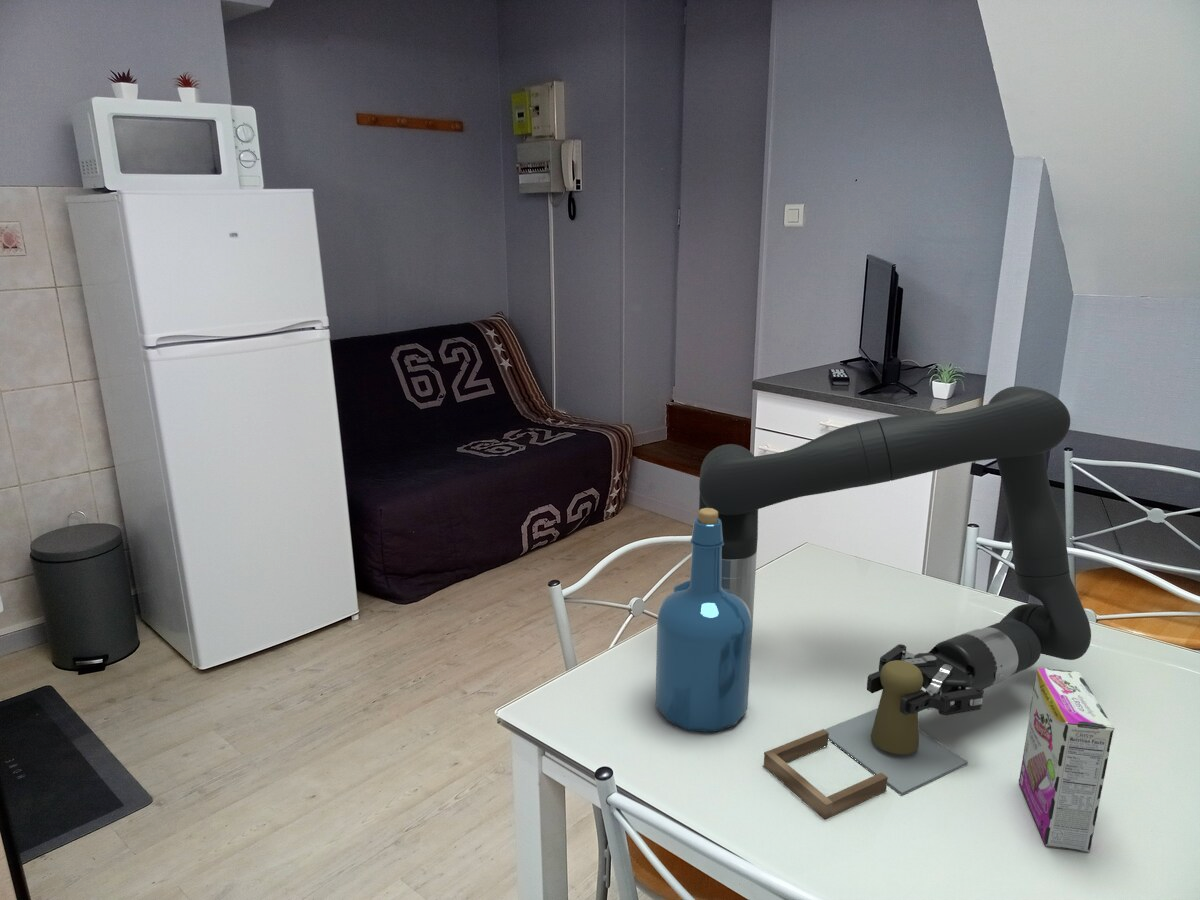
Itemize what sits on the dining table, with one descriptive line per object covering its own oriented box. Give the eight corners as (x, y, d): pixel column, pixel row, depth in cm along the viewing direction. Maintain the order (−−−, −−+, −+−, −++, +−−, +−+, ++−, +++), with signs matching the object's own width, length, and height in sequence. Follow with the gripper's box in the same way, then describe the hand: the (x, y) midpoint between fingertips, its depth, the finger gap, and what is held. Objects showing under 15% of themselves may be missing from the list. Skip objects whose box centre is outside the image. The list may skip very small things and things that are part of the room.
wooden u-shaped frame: (763, 765, 105) (764, 752, 105) (822, 741, 110) (823, 728, 109) (824, 819, 96) (826, 805, 96) (886, 791, 101) (887, 777, 100)
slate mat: (819, 733, 112) (820, 731, 112) (883, 708, 117) (883, 705, 117) (901, 795, 100) (901, 792, 100) (967, 764, 106) (968, 761, 105)
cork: (879, 720, 113) (886, 649, 109) (924, 736, 109) (933, 663, 106) (864, 743, 108) (871, 669, 105) (911, 760, 104) (920, 684, 101)
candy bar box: (1014, 782, 102) (1034, 665, 98) (1058, 787, 101) (1080, 670, 97) (1042, 848, 92) (1066, 721, 87) (1091, 855, 91) (1118, 727, 86)
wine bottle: (761, 731, 112) (774, 525, 104) (666, 741, 110) (672, 532, 102) (729, 676, 125) (739, 490, 117) (644, 684, 123) (647, 495, 115)
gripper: (934, 614, 118) (846, 644, 110) (1026, 660, 106) (934, 698, 98) (928, 660, 120) (842, 693, 112) (1017, 711, 108) (928, 752, 100)
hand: (885, 695), depth 105 cm, fingers closed on cork, 5 cm apart
